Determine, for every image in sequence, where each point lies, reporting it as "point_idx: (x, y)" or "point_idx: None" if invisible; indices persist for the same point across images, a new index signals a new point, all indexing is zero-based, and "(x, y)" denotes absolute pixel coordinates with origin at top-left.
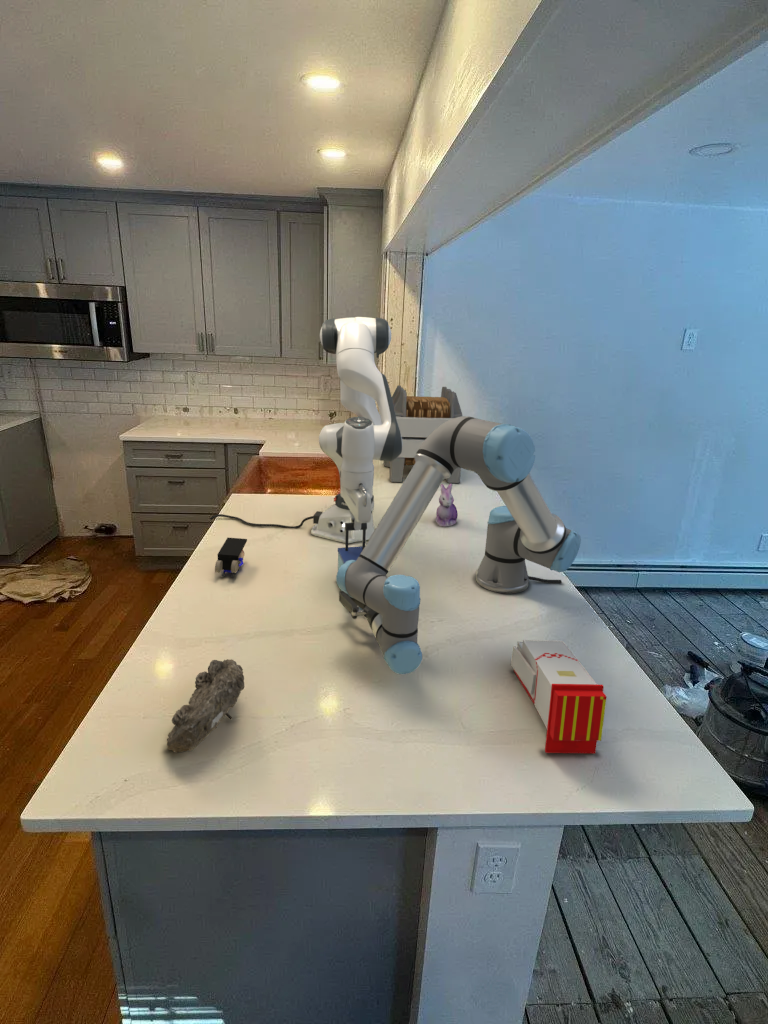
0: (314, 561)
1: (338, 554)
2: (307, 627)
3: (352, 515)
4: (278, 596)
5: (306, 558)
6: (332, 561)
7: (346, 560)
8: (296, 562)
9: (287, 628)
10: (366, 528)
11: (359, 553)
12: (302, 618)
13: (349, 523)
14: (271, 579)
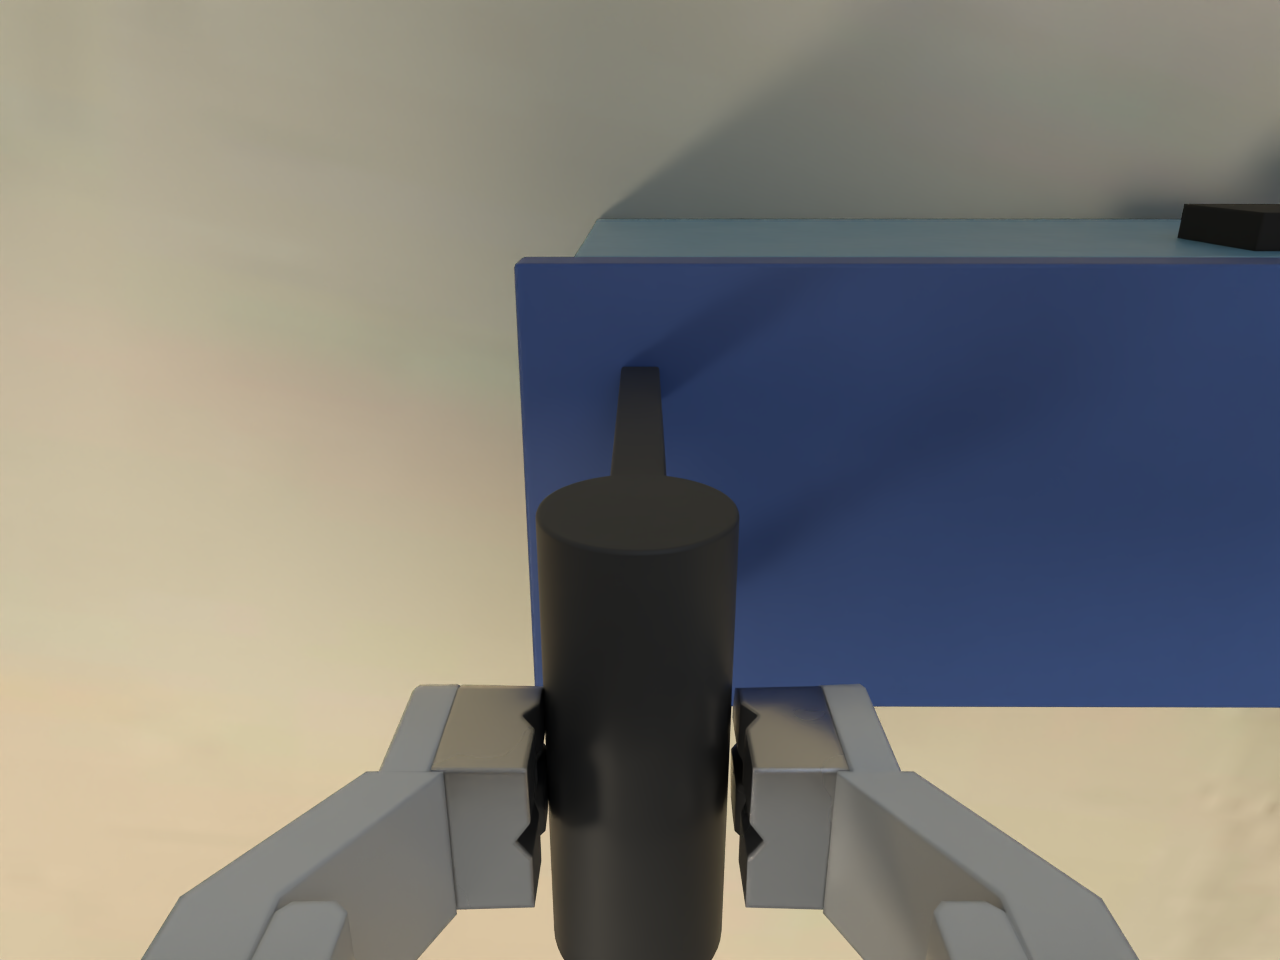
0: (166, 637)
1: None
2: (1222, 811)
3: (402, 941)
4: (752, 923)
5: (103, 690)
6: (163, 488)
7: (952, 675)
8: (190, 770)
9: (1181, 910)
10: (726, 504)
11: (777, 476)
12: (1097, 824)
13: (664, 931)
14: (485, 942)
